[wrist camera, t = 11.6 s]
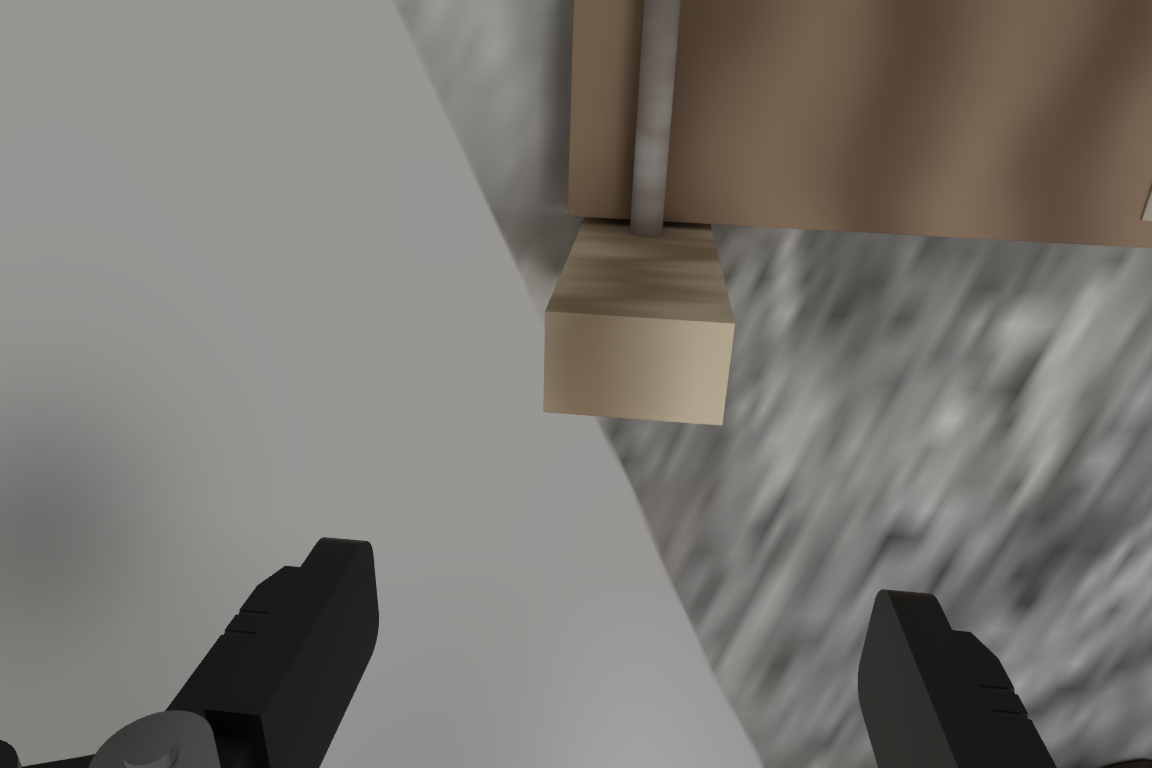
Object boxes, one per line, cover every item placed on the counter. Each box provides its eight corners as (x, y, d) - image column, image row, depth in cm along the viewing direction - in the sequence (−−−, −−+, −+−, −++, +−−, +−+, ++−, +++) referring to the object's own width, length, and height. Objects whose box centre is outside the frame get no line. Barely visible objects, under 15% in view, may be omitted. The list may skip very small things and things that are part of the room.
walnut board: (1329, -131, 25) (1384, -144, 23) (1192, 239, 30) (1228, 253, 28) (583, -145, 27) (577, -159, 25) (572, 205, 32) (567, 216, 30)
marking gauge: (738, -55, 27) (790, -113, 16) (701, 293, 32) (722, 425, 22) (595, -59, 27) (552, -118, 17) (582, 286, 33) (543, 411, 22)
